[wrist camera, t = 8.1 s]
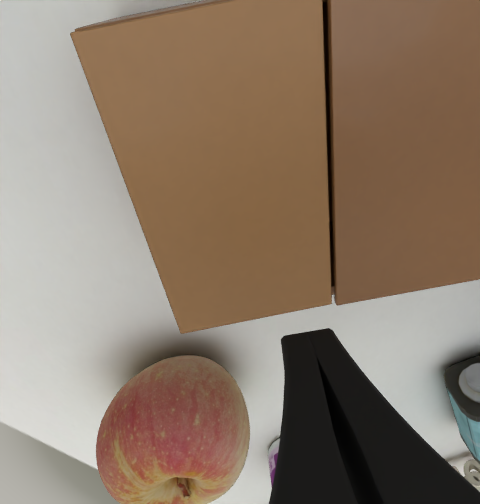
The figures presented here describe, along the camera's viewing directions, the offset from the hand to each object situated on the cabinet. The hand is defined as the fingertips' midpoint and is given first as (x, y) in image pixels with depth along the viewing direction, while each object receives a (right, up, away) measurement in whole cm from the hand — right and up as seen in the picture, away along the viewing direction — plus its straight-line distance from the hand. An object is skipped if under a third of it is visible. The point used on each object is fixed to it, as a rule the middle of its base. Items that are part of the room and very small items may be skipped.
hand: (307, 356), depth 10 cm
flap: (-2, +5, +2) cm, 6 cm away
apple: (-6, -6, +16) cm, 18 cm away
